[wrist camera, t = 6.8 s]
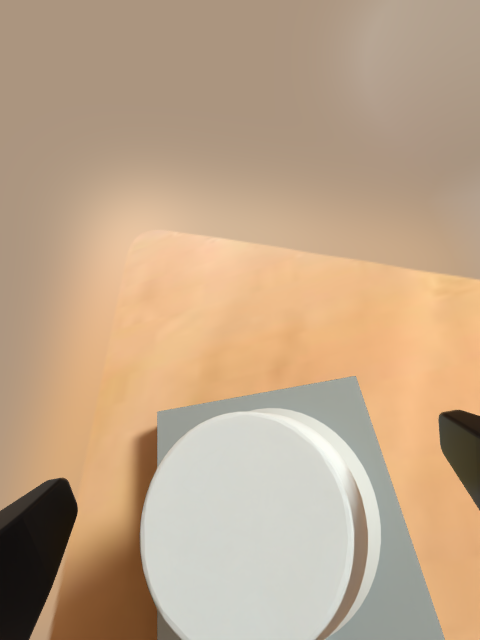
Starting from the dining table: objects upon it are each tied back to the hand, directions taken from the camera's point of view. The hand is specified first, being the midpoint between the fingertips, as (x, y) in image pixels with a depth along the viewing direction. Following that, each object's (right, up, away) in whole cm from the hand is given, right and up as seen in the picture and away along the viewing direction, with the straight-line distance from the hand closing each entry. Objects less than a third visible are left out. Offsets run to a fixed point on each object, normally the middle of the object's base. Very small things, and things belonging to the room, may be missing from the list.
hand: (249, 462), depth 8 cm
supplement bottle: (+1, -5, +7) cm, 9 cm away
